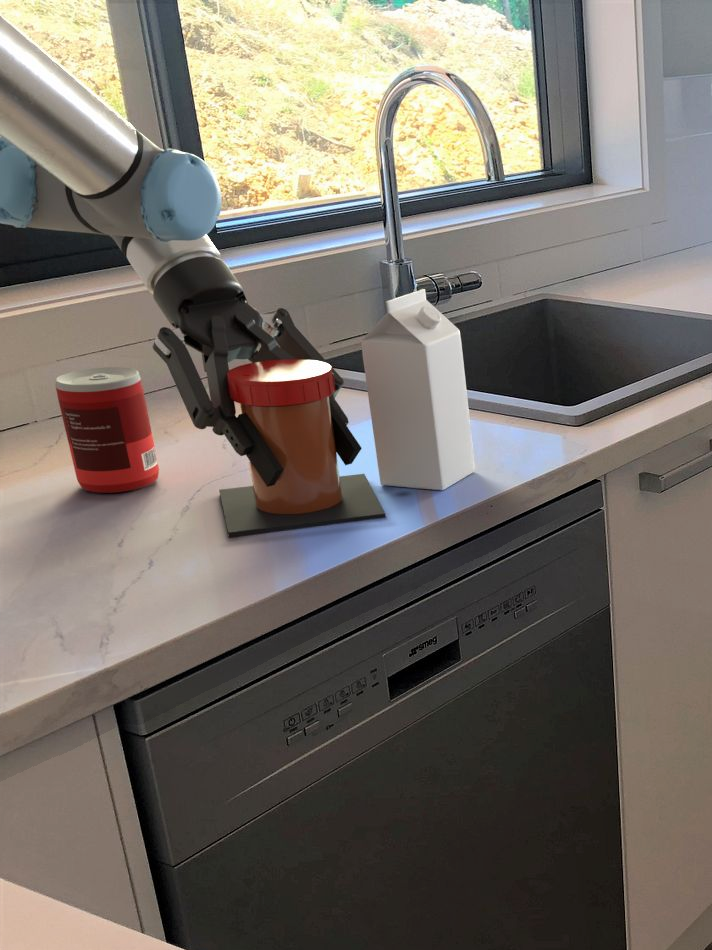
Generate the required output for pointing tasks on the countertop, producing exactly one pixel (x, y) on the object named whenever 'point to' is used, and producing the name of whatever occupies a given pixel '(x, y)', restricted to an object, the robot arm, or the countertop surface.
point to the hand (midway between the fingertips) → (315, 466)
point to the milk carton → (418, 396)
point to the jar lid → (281, 382)
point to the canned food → (108, 429)
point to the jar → (297, 457)
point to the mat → (351, 508)
